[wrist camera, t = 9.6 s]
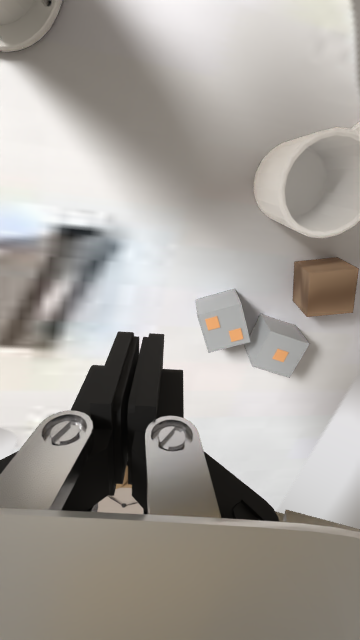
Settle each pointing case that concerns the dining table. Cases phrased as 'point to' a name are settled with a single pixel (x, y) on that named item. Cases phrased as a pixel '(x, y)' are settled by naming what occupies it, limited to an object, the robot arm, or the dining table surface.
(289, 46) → the dining table surface
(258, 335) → the block one
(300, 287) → the plain block
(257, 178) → the mug
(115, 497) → the alarm clock
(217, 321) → the block two
